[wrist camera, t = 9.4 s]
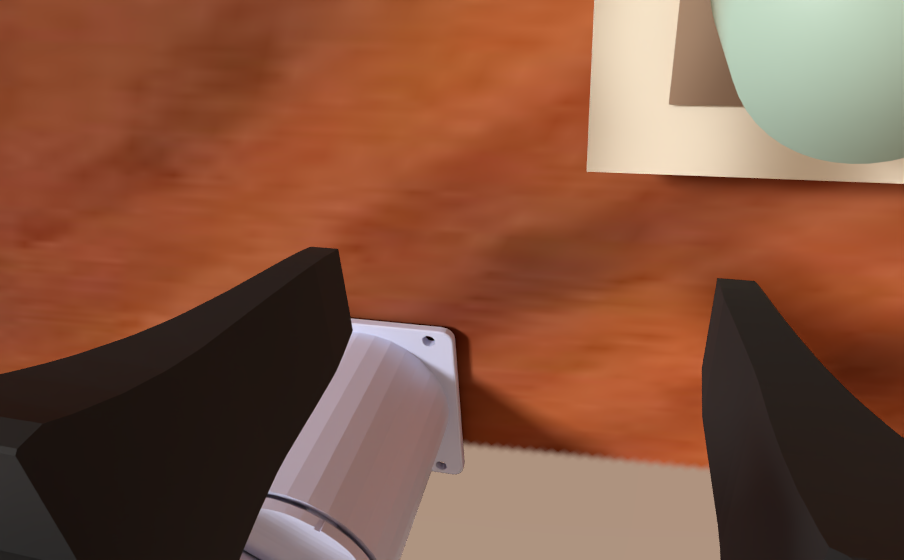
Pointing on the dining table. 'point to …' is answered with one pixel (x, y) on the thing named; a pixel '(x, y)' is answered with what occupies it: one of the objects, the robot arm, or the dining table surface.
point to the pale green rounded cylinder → (820, 73)
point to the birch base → (684, 103)
